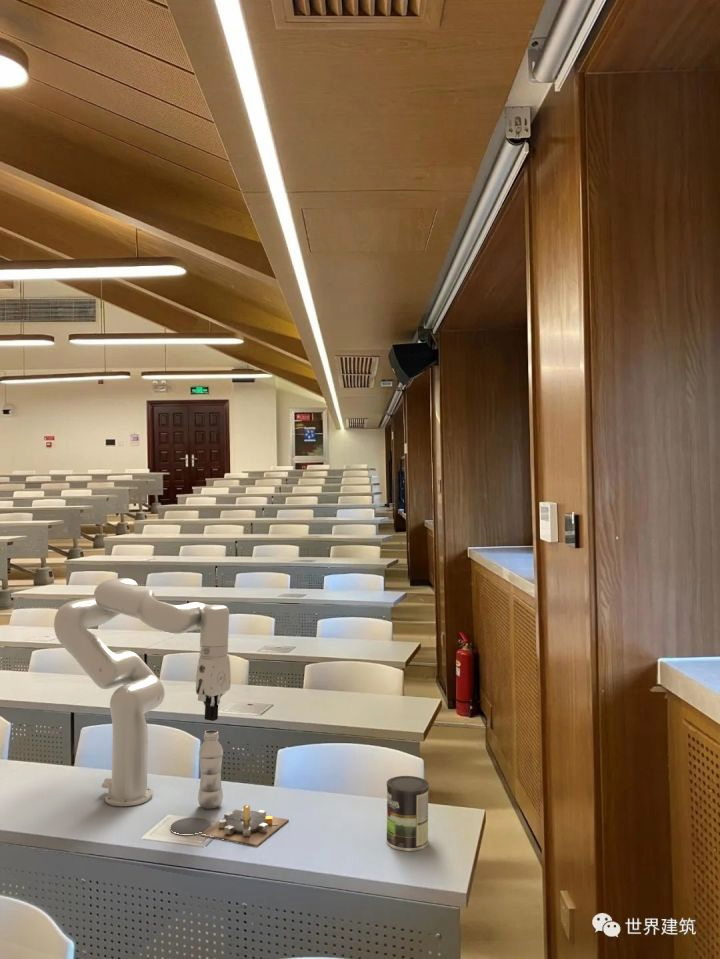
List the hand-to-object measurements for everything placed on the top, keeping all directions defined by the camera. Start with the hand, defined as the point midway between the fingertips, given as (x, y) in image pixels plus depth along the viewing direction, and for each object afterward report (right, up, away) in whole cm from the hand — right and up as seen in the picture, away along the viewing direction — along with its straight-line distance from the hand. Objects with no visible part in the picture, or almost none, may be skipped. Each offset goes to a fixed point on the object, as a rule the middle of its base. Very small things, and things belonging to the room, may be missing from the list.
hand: (211, 719), depth 199 cm
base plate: (+11, -23, -14) cm, 29 cm away
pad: (-3, -23, -13) cm, 27 cm away
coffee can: (+52, -23, -21) cm, 60 cm away
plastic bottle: (0, -24, 0) cm, 24 cm away
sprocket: (+11, -23, -14) cm, 29 cm away
